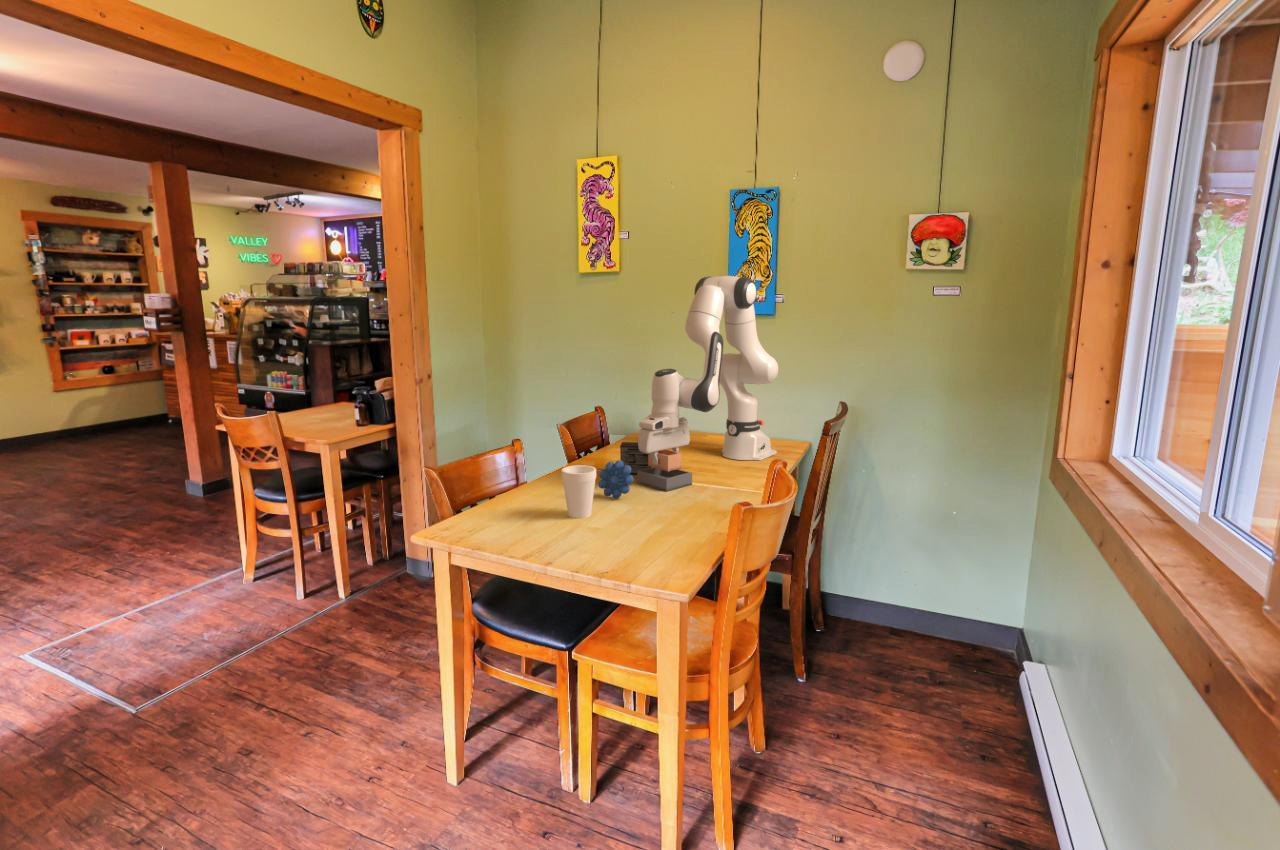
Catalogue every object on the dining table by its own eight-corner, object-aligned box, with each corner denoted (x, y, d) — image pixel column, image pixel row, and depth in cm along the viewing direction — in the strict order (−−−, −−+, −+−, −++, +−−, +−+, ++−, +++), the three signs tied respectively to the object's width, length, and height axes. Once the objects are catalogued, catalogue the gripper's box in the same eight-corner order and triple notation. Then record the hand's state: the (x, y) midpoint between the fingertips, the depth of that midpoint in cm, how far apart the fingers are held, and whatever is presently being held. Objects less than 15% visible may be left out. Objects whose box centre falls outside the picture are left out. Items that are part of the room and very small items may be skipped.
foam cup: (569, 522, 172) (568, 475, 170) (557, 512, 180) (556, 467, 178) (602, 516, 177) (601, 471, 174) (588, 507, 185) (588, 463, 182)
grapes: (639, 496, 195) (639, 458, 192) (629, 503, 189) (629, 463, 186) (605, 492, 199) (605, 454, 197) (595, 498, 193) (594, 459, 191)
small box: (652, 471, 224) (652, 441, 222) (650, 476, 218) (650, 445, 216) (622, 470, 225) (622, 441, 223) (619, 475, 219) (619, 445, 217)
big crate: (662, 476, 217) (662, 464, 216) (692, 484, 207) (692, 472, 207) (637, 482, 210) (637, 470, 209) (666, 491, 200) (666, 479, 199)
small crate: (661, 463, 212) (661, 448, 212) (681, 468, 206) (681, 453, 205) (648, 466, 209) (648, 451, 208) (667, 471, 202) (668, 456, 201)
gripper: (680, 415, 214) (680, 455, 216) (635, 422, 200) (635, 465, 203) (694, 417, 209) (693, 459, 212) (648, 425, 195) (648, 469, 198)
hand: (664, 462), depth 207 cm, fingers closed on small crate, 6 cm apart
